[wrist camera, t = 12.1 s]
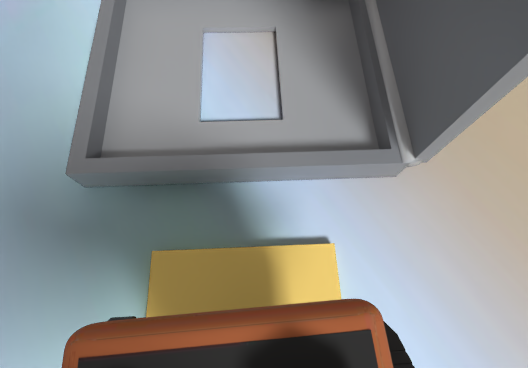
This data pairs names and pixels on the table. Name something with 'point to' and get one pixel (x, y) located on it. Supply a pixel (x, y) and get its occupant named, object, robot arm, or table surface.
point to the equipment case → (292, 88)
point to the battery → (239, 339)
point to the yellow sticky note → (240, 278)
